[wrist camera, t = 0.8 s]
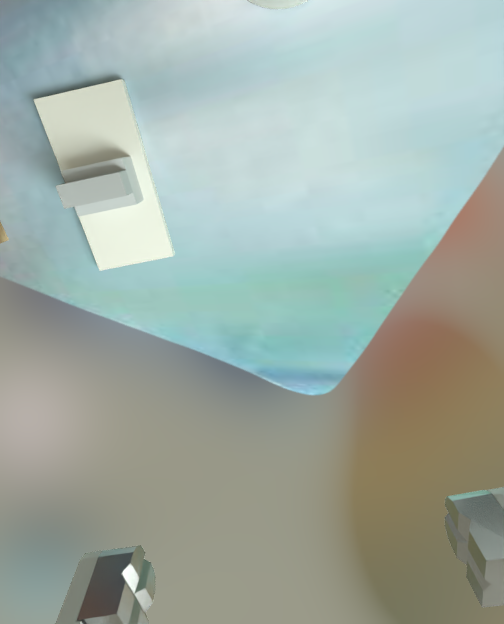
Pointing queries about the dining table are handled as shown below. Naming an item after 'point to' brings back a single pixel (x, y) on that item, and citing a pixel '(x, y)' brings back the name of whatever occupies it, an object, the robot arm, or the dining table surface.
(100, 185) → the fulcrum stand
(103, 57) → the dining table surface
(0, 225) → the pine bar
